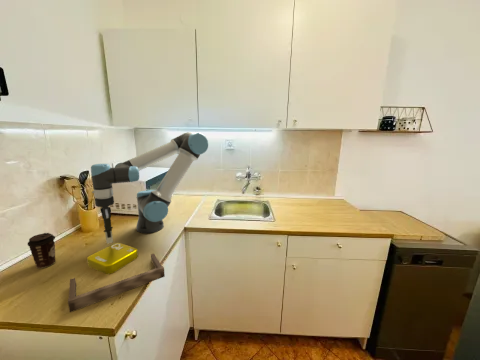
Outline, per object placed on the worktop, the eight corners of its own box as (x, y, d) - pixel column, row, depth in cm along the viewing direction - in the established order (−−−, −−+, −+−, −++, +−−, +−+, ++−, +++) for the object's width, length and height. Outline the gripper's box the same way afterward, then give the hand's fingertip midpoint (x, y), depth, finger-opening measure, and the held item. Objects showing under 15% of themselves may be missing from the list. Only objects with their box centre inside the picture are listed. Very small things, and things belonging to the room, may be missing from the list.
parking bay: (154, 259, 97) (154, 251, 96) (164, 276, 85) (164, 267, 84) (71, 286, 79) (69, 276, 78) (69, 312, 68) (67, 301, 67)
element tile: (86, 266, 91) (84, 256, 90) (118, 249, 105) (117, 240, 104) (109, 276, 86) (108, 265, 85) (140, 257, 99) (139, 247, 98)
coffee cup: (57, 256, 98) (52, 230, 95) (61, 263, 93) (56, 235, 90) (31, 264, 91) (25, 237, 89) (34, 272, 86) (28, 243, 83)
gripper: (93, 194, 103) (99, 239, 108) (95, 201, 92) (101, 250, 98) (111, 192, 107) (116, 235, 112) (114, 199, 97) (120, 245, 102)
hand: (109, 242), depth 105 cm, fingers closed
